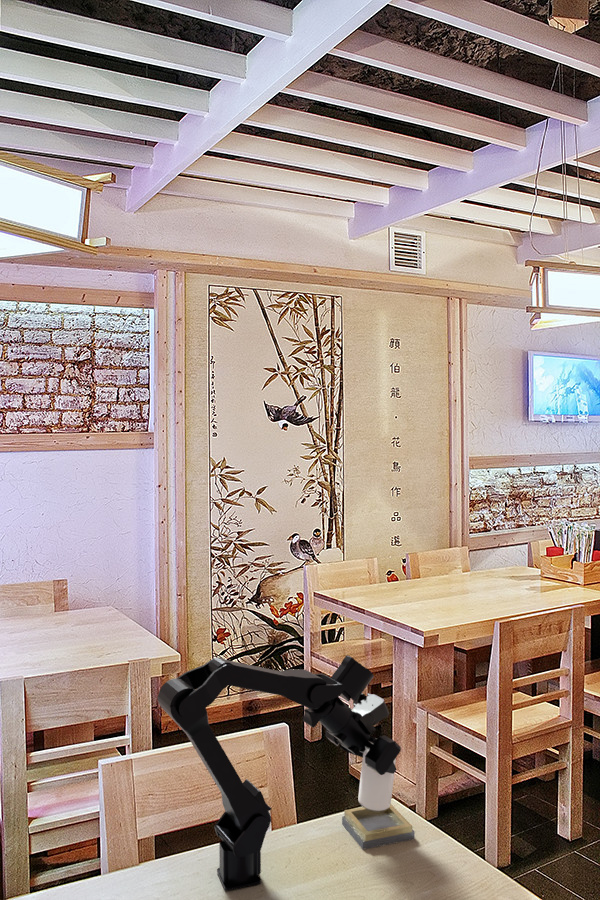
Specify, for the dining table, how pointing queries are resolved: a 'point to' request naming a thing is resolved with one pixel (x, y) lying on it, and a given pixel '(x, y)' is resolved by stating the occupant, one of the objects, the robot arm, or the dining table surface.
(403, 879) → the dining table surface
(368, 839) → the gold square coaster
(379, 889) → the dining table surface
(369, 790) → the can
